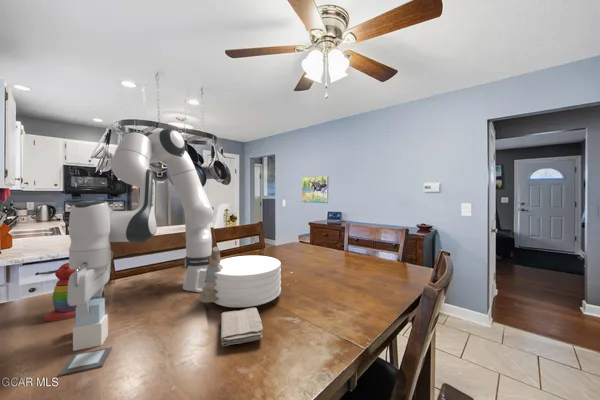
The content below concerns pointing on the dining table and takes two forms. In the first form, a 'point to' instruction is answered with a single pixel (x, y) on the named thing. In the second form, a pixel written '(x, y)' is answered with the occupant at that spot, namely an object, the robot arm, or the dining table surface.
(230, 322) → the washcloth
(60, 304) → the stacking bear
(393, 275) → the dining table surface
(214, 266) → the figurine
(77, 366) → the tile
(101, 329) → the cream block
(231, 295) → the plate stack
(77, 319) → the pale blue block
